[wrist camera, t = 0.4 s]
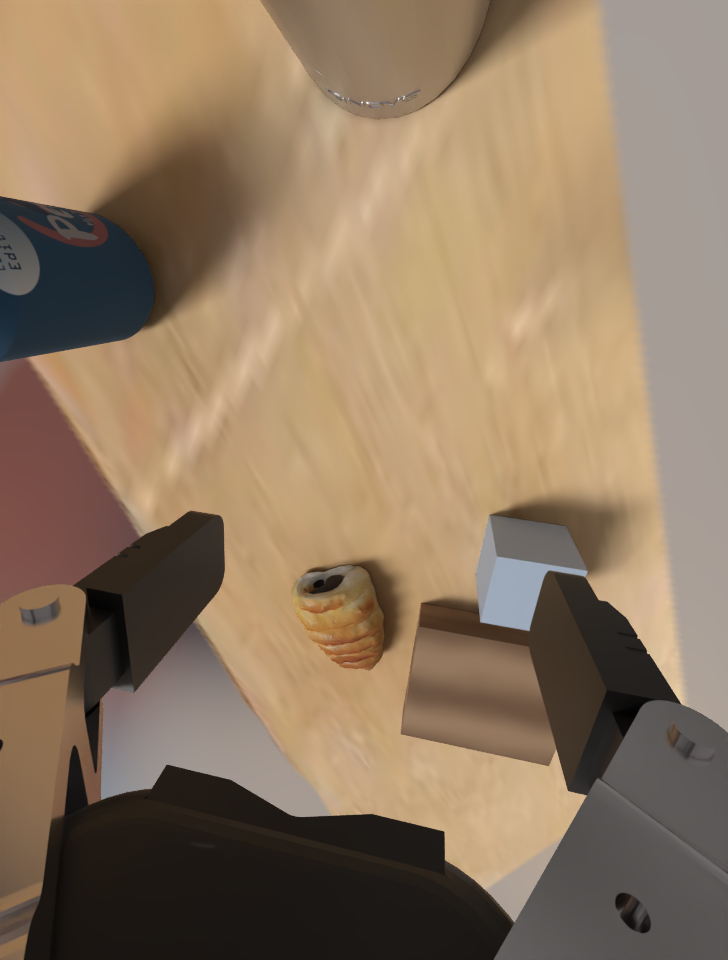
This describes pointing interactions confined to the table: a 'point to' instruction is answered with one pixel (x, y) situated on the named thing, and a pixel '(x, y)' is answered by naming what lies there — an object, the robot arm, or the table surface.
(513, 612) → the blue cube
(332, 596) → the pastry
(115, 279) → the soda can
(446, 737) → the walnut base
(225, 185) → the table surface
